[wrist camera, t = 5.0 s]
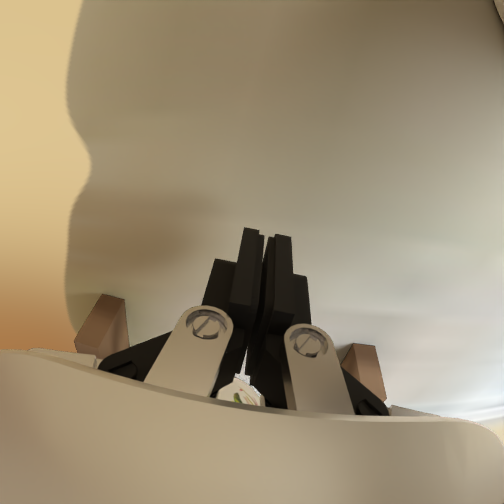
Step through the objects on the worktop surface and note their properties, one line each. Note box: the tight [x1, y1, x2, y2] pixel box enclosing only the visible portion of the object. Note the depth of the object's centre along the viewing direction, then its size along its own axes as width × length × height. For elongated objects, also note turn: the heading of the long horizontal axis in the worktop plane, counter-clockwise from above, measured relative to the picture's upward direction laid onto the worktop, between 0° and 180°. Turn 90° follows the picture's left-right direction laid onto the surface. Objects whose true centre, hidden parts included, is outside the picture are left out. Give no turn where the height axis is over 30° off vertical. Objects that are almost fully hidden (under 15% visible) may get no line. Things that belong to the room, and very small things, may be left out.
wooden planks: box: [74, 294, 387, 402], centre depth 22 cm, size 18×17×4 cm
